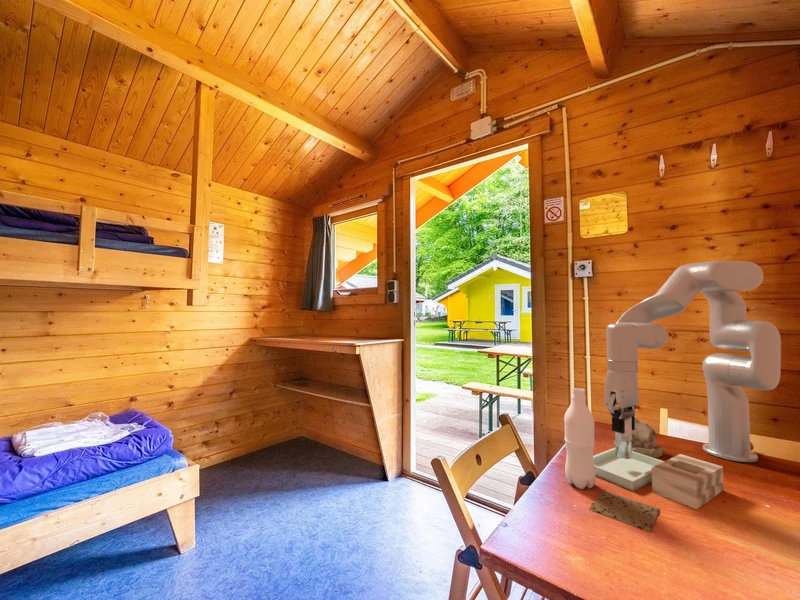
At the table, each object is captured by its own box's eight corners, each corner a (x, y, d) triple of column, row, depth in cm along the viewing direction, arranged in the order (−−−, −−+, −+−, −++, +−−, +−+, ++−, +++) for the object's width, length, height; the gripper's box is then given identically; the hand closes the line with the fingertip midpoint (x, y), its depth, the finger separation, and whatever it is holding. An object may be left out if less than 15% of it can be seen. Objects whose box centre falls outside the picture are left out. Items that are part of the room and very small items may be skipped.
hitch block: (680, 475, 95) (680, 453, 95) (723, 490, 87) (722, 466, 88) (652, 491, 87) (651, 467, 87) (696, 509, 79) (695, 482, 80)
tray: (617, 454, 109) (617, 446, 110) (670, 472, 97) (669, 463, 97) (580, 469, 99) (580, 460, 99) (633, 491, 87) (632, 481, 87)
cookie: (661, 510, 80) (661, 506, 80) (651, 535, 71) (651, 530, 71) (603, 491, 88) (603, 487, 88) (587, 511, 80) (587, 507, 80)
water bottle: (600, 492, 87) (598, 392, 87) (569, 489, 88) (567, 391, 89) (590, 479, 94) (588, 386, 94) (562, 476, 95) (560, 385, 96)
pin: (618, 450, 102) (618, 406, 103) (639, 457, 97) (638, 411, 98) (608, 454, 99) (607, 408, 100) (629, 461, 94) (628, 413, 95)
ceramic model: (606, 445, 117) (605, 416, 117) (621, 438, 123) (621, 410, 123) (655, 460, 105) (654, 427, 105) (669, 452, 111) (668, 421, 112)
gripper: (624, 362, 107) (625, 422, 106) (592, 367, 98) (593, 431, 98) (651, 365, 100) (652, 429, 100) (620, 371, 92) (621, 440, 91)
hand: (623, 429), depth 99 cm, fingers closed on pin, 4 cm apart
